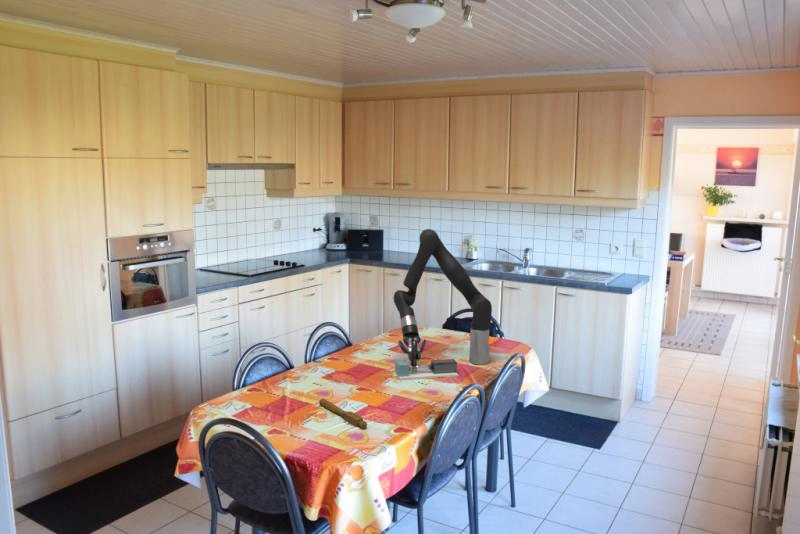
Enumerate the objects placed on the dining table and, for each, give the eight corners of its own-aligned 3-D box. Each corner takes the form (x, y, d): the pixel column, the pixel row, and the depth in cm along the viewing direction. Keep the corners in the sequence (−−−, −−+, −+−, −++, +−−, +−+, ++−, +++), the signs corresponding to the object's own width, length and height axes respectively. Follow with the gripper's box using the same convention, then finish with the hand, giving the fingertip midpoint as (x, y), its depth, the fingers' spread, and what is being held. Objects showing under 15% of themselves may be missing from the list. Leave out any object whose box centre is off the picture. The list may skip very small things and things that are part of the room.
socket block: (404, 370, 302) (404, 359, 301) (408, 376, 294) (408, 364, 293) (395, 371, 301) (395, 360, 300) (399, 376, 293) (399, 365, 292)
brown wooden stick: (325, 397, 261) (368, 421, 238) (325, 404, 262) (368, 429, 239) (318, 398, 259) (362, 423, 237) (318, 406, 260) (362, 431, 237)
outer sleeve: (453, 369, 306) (453, 359, 305) (456, 372, 301) (457, 362, 300) (430, 370, 303) (431, 360, 303) (434, 373, 298) (434, 363, 298)
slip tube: (436, 369, 303) (437, 338, 301) (438, 371, 300) (439, 340, 297) (401, 371, 299) (402, 340, 297) (403, 373, 296) (403, 342, 293)
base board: (451, 369, 309) (451, 367, 309) (458, 376, 298) (458, 374, 298) (394, 372, 302) (394, 370, 302) (399, 380, 292) (399, 377, 292)
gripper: (396, 324, 301) (401, 357, 291) (425, 323, 304) (431, 355, 294) (393, 332, 307) (398, 364, 297) (422, 330, 310) (428, 363, 300)
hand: (415, 360), depth 296 cm, fingers closed on slip tube, 3 cm apart
